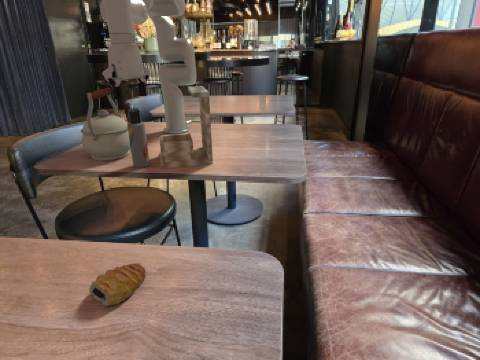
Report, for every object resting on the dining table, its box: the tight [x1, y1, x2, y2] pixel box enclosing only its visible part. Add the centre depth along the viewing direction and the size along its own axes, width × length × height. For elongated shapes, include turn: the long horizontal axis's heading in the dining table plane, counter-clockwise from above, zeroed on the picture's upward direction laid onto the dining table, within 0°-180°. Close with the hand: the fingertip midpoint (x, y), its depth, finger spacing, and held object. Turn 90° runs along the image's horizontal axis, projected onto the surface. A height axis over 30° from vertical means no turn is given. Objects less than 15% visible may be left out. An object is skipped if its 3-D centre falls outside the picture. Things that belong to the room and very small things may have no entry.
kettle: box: [80, 87, 131, 161], centre depth 121 cm, size 25×18×25 cm
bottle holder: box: [159, 85, 214, 169], centre depth 114 cm, size 18×18×25 cm
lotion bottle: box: [127, 107, 151, 169], centre depth 109 cm, size 6×6×20 cm
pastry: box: [88, 263, 147, 307], centre depth 55 cm, size 9×7×4 cm
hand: (131, 97), depth 103 cm, fingers open, 9 cm apart
